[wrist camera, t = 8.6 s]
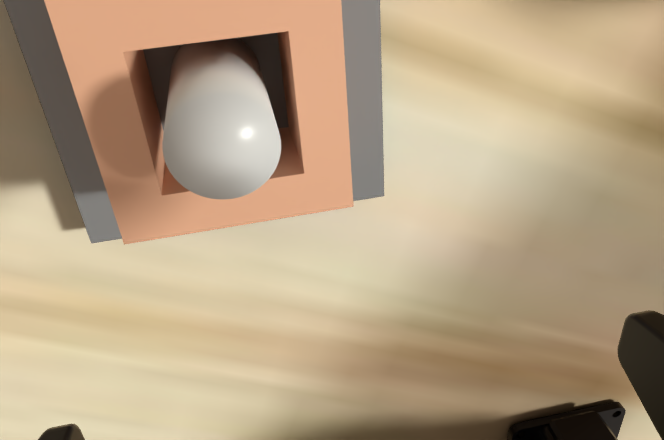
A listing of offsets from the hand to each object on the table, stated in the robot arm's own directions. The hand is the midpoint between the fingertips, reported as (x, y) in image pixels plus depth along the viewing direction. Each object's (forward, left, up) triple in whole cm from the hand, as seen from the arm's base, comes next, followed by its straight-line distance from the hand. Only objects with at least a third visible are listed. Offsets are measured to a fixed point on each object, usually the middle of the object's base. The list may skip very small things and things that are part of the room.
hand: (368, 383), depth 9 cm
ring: (+2, +2, -11) cm, 11 cm away
